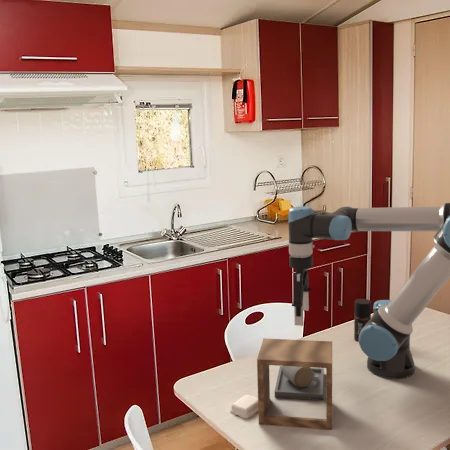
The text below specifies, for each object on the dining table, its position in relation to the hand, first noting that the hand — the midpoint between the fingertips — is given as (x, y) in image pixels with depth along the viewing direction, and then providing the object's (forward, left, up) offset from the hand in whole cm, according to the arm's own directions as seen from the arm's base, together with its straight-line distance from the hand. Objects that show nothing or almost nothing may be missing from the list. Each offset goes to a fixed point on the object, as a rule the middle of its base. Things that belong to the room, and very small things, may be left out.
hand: (301, 317), depth 177 cm
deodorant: (-21, -28, -19) cm, 39 cm away
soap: (+15, +27, -19) cm, 36 cm away
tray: (0, +10, -19) cm, 21 cm away
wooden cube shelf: (0, +27, -19) cm, 33 cm away
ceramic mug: (0, +10, -18) cm, 20 cm away
